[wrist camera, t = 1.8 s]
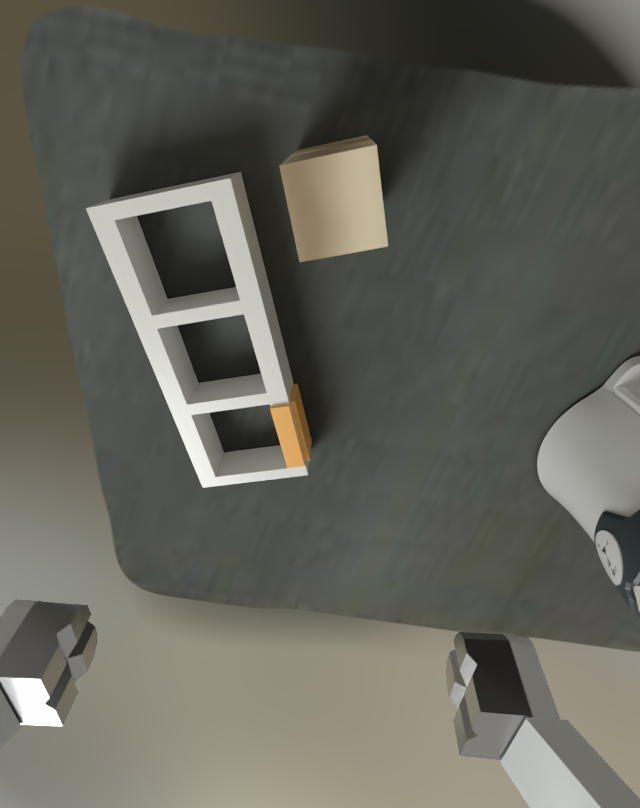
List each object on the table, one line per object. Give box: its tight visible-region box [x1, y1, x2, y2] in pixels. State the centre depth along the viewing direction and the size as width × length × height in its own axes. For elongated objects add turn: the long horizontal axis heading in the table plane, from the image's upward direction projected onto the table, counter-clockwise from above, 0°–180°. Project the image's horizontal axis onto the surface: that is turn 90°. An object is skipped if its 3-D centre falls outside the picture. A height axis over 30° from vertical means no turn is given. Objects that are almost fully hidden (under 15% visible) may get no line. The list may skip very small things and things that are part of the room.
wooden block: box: [279, 135, 388, 262], centre depth 27 cm, size 5×5×10 cm
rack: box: [86, 172, 312, 488], centre depth 37 cm, size 10×24×4 cm, turn 11°
